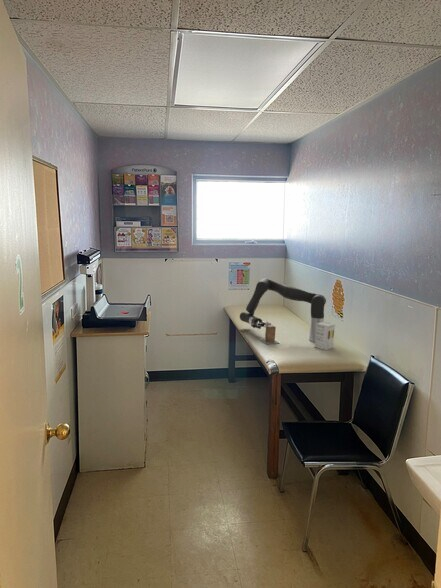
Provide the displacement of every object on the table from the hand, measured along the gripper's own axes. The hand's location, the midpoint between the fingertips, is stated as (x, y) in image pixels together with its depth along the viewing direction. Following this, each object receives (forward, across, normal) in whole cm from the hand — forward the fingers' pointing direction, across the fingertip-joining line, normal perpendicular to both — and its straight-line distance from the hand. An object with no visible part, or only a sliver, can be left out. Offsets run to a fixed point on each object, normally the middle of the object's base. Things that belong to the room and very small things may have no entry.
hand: (265, 327), depth 311 cm
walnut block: (+7, 0, +8) cm, 11 cm away
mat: (+7, 0, +9) cm, 12 cm away
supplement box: (+28, +31, +9) cm, 43 cm away
